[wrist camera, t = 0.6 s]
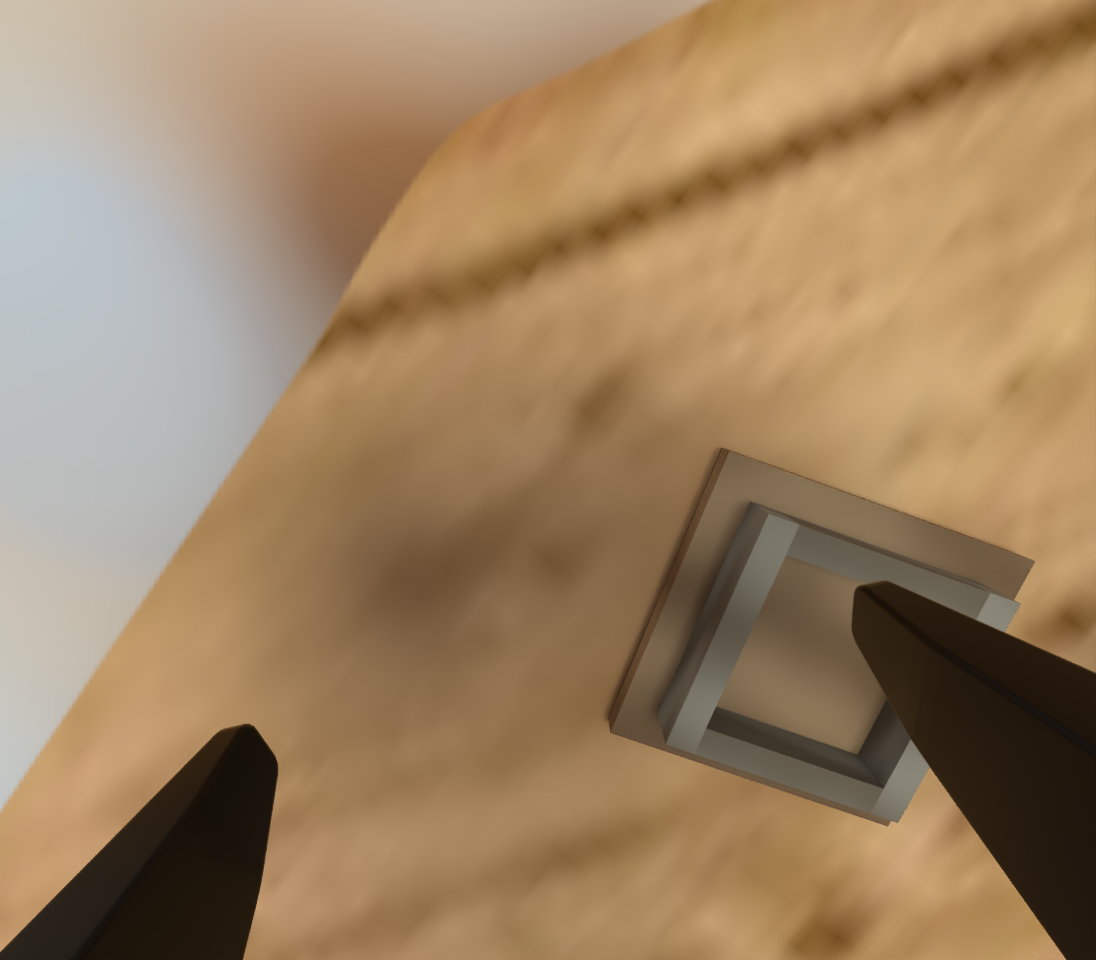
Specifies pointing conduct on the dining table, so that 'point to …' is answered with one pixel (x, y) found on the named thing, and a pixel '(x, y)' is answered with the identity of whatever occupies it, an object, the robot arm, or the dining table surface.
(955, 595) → the jig
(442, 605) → the dining table surface
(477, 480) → the dining table surface
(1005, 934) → the dining table surface
